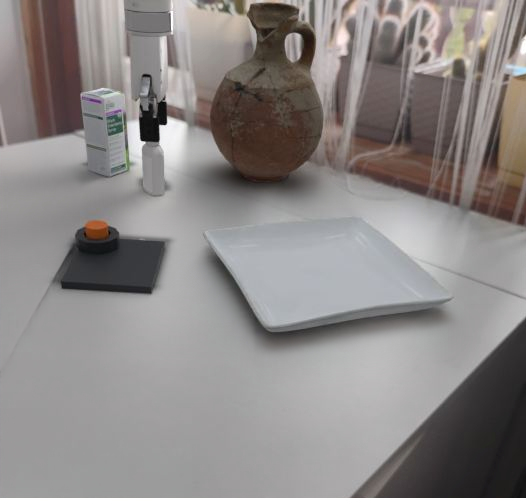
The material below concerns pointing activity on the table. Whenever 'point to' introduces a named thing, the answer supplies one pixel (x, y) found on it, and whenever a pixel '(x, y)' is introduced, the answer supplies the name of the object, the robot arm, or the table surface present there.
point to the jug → (269, 100)
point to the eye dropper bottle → (153, 168)
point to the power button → (96, 229)
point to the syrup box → (105, 131)
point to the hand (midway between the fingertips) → (154, 132)
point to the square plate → (322, 272)
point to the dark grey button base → (113, 264)
